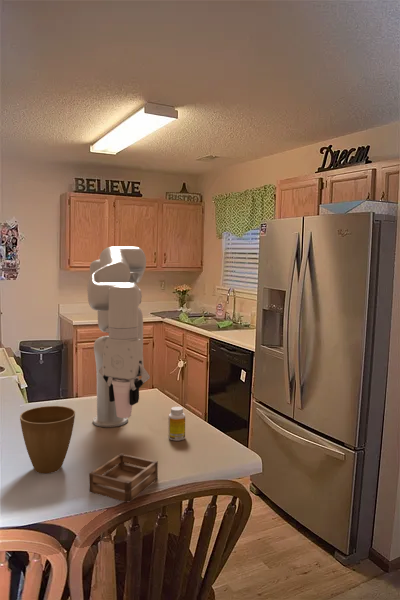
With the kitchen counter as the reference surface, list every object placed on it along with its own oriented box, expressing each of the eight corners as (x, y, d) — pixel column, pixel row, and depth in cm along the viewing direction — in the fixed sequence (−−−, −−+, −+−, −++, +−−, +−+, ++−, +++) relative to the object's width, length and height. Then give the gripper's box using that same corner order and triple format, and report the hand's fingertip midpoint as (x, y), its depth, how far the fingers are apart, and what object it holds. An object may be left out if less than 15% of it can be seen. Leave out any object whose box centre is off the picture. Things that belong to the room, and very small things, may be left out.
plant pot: (23, 484, 127) (21, 425, 125) (19, 462, 140) (18, 408, 139) (80, 474, 133) (79, 418, 131) (71, 454, 146) (71, 403, 145)
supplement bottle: (187, 440, 158) (187, 410, 157) (171, 442, 156) (171, 411, 155) (182, 434, 163) (182, 405, 162) (166, 436, 161) (166, 406, 160)
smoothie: (112, 411, 128) (112, 360, 126) (136, 411, 128) (137, 360, 127) (110, 419, 122) (110, 365, 120) (135, 419, 122) (136, 365, 121)
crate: (120, 470, 136) (120, 453, 135) (157, 478, 130) (157, 461, 130) (89, 492, 123) (89, 473, 123) (128, 502, 118) (128, 483, 117)
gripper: (87, 332, 123) (88, 401, 125) (144, 338, 116) (144, 411, 118) (105, 328, 130) (105, 393, 132) (159, 333, 123) (159, 402, 124)
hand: (123, 401), depth 125 cm, fingers closed on smoothie, 5 cm apart
